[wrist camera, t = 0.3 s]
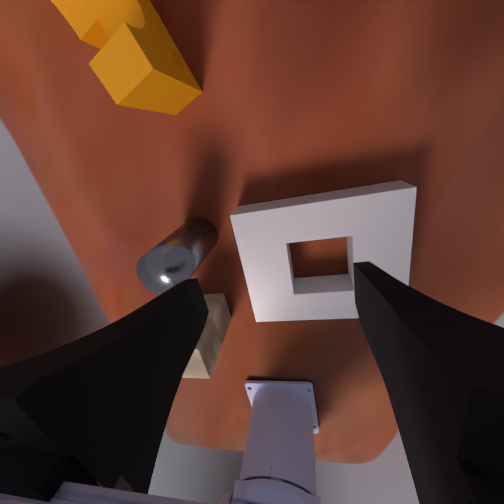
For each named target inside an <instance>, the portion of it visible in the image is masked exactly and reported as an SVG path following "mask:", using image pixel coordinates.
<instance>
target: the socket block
mask: <svg viewBox="0 0 504 504" xmlns="http://www.w3.org/2000/svg"><path fill="white" fill-rule="evenodd" d="M416 190H417V187H415V186H413V185H411V184H409V183H406V182H404V181H402V180H398V181H392V182H386V183H380V184H374V185H367V186H361V187H355V188H349V189H343V190H336V191H330V192H324V193H318V194H311V195H305V196H299V197H293V198H287V199H280V200H274V201H268V202H262V203H256V204H249V205H243V206H237V208H236V209H235V210H234V211H233V212H232V214H231V215H230V218H231V222H232V226H233V230H234V234H235V238H236V242H237V246H238V250H239V254H240V258H241V263H242V267H243V271H244V275H245V279H246V283H247V287H248V291H249V295H250V299H251V303H252V307H253V311H254V315H255V319H256V322H266V321H293V320H321V319H348V318H359V316H358V312H357V309H356V305H355V293H354V270H353V263H356V262H366V261H370V262H371V263H373V264H374V265H376V266H377V267H379V268H380V269H382V270H384V271H385V272H387V273H388V274H390V275H391V276H393V277H394V278H396V279H398V280H399V281H401V282H403V283H404V284H406V285H408V286H409V274H410V262H411V250H412V238H413V226H414V214H415V202H416ZM346 236H347V260H348V274H341V275H328V276H316V277H303V278H294V273H293V267H292V260H291V253H290V246H289V243H294V242H302V241H311V240H320V239H328V238H337V237H346Z"/></svg>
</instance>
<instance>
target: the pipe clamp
mask: <svg viewBox="0 0 504 504" xmlns="http://www.w3.org/2000/svg"><path fill="white" fill-rule="evenodd" d="M51 1H52V2H53V3H54V5H55V6H56V7H57V8H58V9H59V11H60V12H61V13H62V14H63V16H64V17H65V18H66V20H67V21H68V22H69V24H70V25H71V26H72V28H73V29H74V31H75V32H76V34H77V35H78V37H79V38H80V40H82V41H84V42H87V43H89V44H91V45H93V46H96V47H98V48H100V49H101V50H100V51H99V52H98V53H97V55H96V56H95V57H94V58H93V59H92V60H91V62H90V63H89V65H90V66H91V68H92V69H93V71H94V72H95V74H96V75H97V76H98V78H99V79H100V81H101V82H102V84H103V85H104V87H105V88H106V89H107V91H108V92H109V94H110V95H111V97H112V98H113V100H114V101H115V102H116V104H117V105H121V106H127V107H133V108H138V109H144V110H150V111H156V112H161V113H167V114H173V115H176V114H177V113H178V112H180V111H181V110H182V109H183V108H184V107H185V106H187V105H188V104H189V103H190V102H191V101H192V100H194V99H195V98H196V97H197V96H198V95H199V94H201V93H202V90H201V88H200V87H199V85H198V83H197V81H196V80H195V78H194V76H193V74H192V73H191V71H190V69H189V67H188V66H187V64H186V62H185V60H184V59H183V57H182V55H181V53H180V52H179V50H178V48H177V47H176V45H175V43H174V41H173V40H172V38H171V36H170V34H169V33H168V31H167V29H166V27H165V26H164V24H163V22H162V20H161V19H160V17H159V15H158V13H157V12H156V10H155V8H154V6H153V5H152V3H151V1H150V0H51Z"/></svg>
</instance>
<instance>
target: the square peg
mask: <svg viewBox="0 0 504 504" xmlns="http://www.w3.org/2000/svg"><path fill="white" fill-rule="evenodd" d="M203 296H204V298H205V301H206V304H207V307H208V310H209V314H208V317H207V321H206V324H205V327H204V330H203V332H202V335H201V337H200V339H199V341H198V343H197V346H196V348H195V350H194V352H193V354H192V356H191V358H190V361H189V363H188V365H187V367H186V369H185V371H184V374H183V376H182V378H210V376H211V374H212V371H213V368H214V365H215V363H216V360H217V357H218V354H219V351H220V349H221V346H222V343H223V340H224V338H225V335H226V332H227V329H228V327H229V324H230V321H231V314H230V311H229V308H228V304H227V301H226V298H225V294H224V293H217V294H203Z"/></svg>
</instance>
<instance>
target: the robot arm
mask: <svg viewBox="0 0 504 504" xmlns="http://www.w3.org/2000/svg"><path fill="white" fill-rule="evenodd" d="M353 270H354V293H355V305H356V309H357V312H358V316H359V320H360V323H361V326H362V328H363V331H364V333H365V336H366V338H367V340H368V343H369V345H370V348H371V350H372V352H373V355H374V357H375V360H376V362H377V364H378V367H379V369H380V372H381V374H382V377H383V380H384V382H385V385H386V388H387V392H388V395H389V398H390V401H391V405H392V408H393V411H394V415H395V418H396V421H397V425H398V428H399V432H400V435H401V438H402V442H403V445H404V449H405V453H406V456H407V460H408V463H409V467H410V470H411V474H412V478H413V481H414V484H415V488H416V492H417V496H418V500H419V503H420V504H504V328H502V327H500V326H497V325H494V324H491V323H489V322H486V321H483V320H481V319H478V318H475V317H473V316H470V315H468V314H465V313H463V312H460V311H458V310H456V309H454V308H451V307H449V306H447V305H445V304H442V303H440V302H438V301H436V300H434V299H432V298H430V297H428V296H426V295H424V294H422V293H420V292H419V291H417V290H415V289H413V288H411V287H409V286H408V285H406V284H404V283H403V282H401V281H399V280H398V279H396V278H394V277H393V276H391V275H390V274H388V273H387V272H385V271H384V270H382V269H380V268H379V267H377V266H376V265H374V264H373V263H371V262H370V261H366V262H356V263H353ZM208 314H209V310H208V307H207V304H206V301H205V298H204V296H203V293H202V290H201V287H200V284H199V281H198V279H197V278H195V279H186V280H184V281H182V282H180V283H178V284H177V285H175V286H173V287H172V288H170V289H168V290H167V291H165V292H164V293H162V294H161V295H159V296H158V297H156V298H154V299H153V300H151V301H150V302H148V303H147V304H145V305H143V306H142V307H140V308H138V309H137V310H135V311H133V312H132V313H130V314H128V315H127V316H125V317H123V318H121V319H119V320H118V321H116V322H114V323H112V324H110V325H108V326H106V327H104V328H102V329H100V330H98V331H96V332H93V333H91V334H89V335H87V336H84V337H82V338H80V339H78V340H76V341H73V342H71V343H68V344H65V345H63V346H60V347H58V348H55V349H53V350H50V351H47V352H45V353H42V354H39V355H36V356H33V357H30V358H27V359H24V360H21V361H18V362H14V363H11V364H8V365H5V366H2V367H0V504H207V503H201V502H195V501H188V500H182V499H175V498H168V497H162V496H156V495H149V494H148V490H149V486H150V482H151V477H152V474H153V470H154V466H155V462H156V458H157V454H158V450H159V447H160V443H161V440H162V436H163V432H164V429H165V426H166V423H167V419H168V416H169V413H170V410H171V407H172V404H173V401H174V398H175V395H176V392H177V389H178V386H179V383H180V381H181V378H182V376H183V374H184V371H185V369H186V367H187V365H188V363H189V361H190V358H191V356H192V354H193V352H194V350H195V348H196V346H197V343H198V341H199V339H200V337H201V335H202V332H203V330H204V327H205V324H206V321H207V317H208ZM245 387H246V390H247V394H248V397H249V400H250V403H251V406H252V410H251V416H250V422H249V428H248V434H247V440H246V446H245V451H244V457H243V463H242V469H241V475H240V480H236V481H235V486H234V492H233V493H232V492H227V493H226V494H225V496H224V497H223V498H222V499H221V500H220V502H219V503H218V504H320V497H319V496H317V491H316V473H315V472H316V471H315V453H314V434H317V433H319V426H318V419H317V412H316V405H315V398H314V391H313V385H312V383H311V382H301V381H260V380H247V381H246V382H245ZM313 433H314V434H313Z"/></svg>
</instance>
